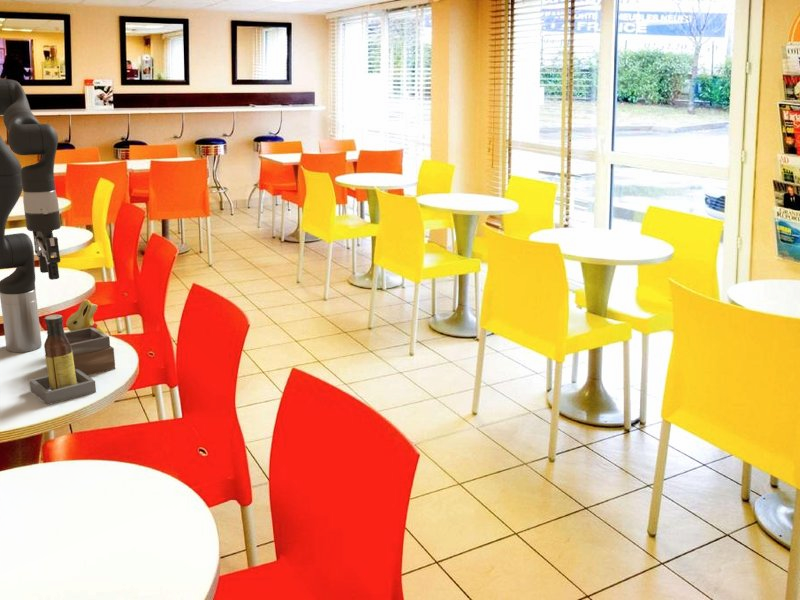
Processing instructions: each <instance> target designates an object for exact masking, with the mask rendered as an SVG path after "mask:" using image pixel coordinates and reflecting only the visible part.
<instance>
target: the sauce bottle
mask: <svg viewBox="0 0 800 600" xmlns="http://www.w3.org/2000/svg"><path fill="white" fill-rule="evenodd" d="M44 323H45V325H46V335H47V338H46V339H45V342H44V344H43V346H44V355H45V356H44V357H45V363H46V370H47V376H48V377H49V384H50V388H49V389H51V390H55V389H59V388H63V387H67V386H71V385H75V384H78V382H77V381H76V374H75V367H74V360H73V353H72V347H71V345H70V343H69V341H68V339H67V337H66V335H65V330H64V329H65V328H64V324H63V323H64V318H63V315H61V314H50V315H47V316H45V317H44ZM51 390H50V391H51Z"/></svg>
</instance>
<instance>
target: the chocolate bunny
mask: <svg viewBox="0 0 800 600" xmlns="http://www.w3.org/2000/svg"><path fill="white" fill-rule="evenodd" d="M97 311H98V305H97V304H95V303H92V302H91V301H90V300H89V299H87V298H86V299H83V301H81V303H80V304H79V307H78V309H77V310H76V311H75V312H74V313H72V314H71V315H70V316H68V318H67V319H66V322H65V324H66V327H67V329H68V330H69V331H74V330H79V329H84V328H89V327H93V328H95V329H97V330H98V331H100V332H102V333H103V334H105V335H107V334H106V332H105V330H104V329H102V328H101V327H100V326H99V325H98V324H97V323H96V322H95V321H94V315H95V313H96V312H97Z"/></svg>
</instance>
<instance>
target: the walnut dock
mask: <svg viewBox="0 0 800 600" xmlns="http://www.w3.org/2000/svg"><path fill="white" fill-rule="evenodd" d="M64 333H65V335H66V337H67V339H68V341H69V343H70V345H71V347H72V353H73V360H74V367H75V369H79V370H80V371H81V372H83V373H84V374H86V375H87V376H90V375H95V373H96V374H99V372H100V373H103V372H102V371H104V372H107V370H108V371H112V370H115V369H116V362H115V361H116V360H115V348H114V347H113V346H112V345H111V342H110V339H111V338H110V336H109V335H107V334H106V333H105V334H106V335H105V334H103V333H102V332H100V331H98V330H97V329H95V328H93V327H89V328H84V329H79V330H74V331H70V330H69V331H66V332H65V331H64ZM111 369H112V370H111Z"/></svg>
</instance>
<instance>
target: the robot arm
mask: <svg viewBox="0 0 800 600" xmlns="http://www.w3.org/2000/svg"><path fill="white" fill-rule="evenodd" d="M0 116H3V117H2V119H3V125H4V126H5V128H6V130H7V131H8V133H7V142H8V144H7V143H6V142H5V140H3V137H2V136H1V135H0V270H4V269H5V270H6V269H13V268H15V269H14V271H13V272H12V273H10V274H9V275H7V276H5V277H4V278H3V279H1V280H0V305H1V306H0V307H1V314H2V322H3V323H2V324H3V329H4V338H5V339H4V340H5V346H6V347H5V348H6V350H7V351H9V352H12V353H24V352H30V351H34V350H37V349H39V348H41V346H42V344H43V343H42V336H41V327H40V318H39V316H40V315H39V309H38V301H37V300H38V299H37V293H36V268H35V254H36V256H37V258H38V262H39V271H40V273H42V274H44V273H47V275H48V279H49V280H51V281H52V280H59V278H60V273H59V272H60V271H59V263H61V256H60V255H61V254H60V248H59V242H58V241H59V238H58V237H57V236H54V233H53V231H55V230H59V229H61V226H62V225H61V217H60V216H61V215H60V208H59V199H58V195H57V192H56V182H55V173H54V171H55V170H54V169H55V160H56V154H57V150H58V143H59V137H58V133H57V131H56V129H55V128H54V127H53V126H52V125H50V124H48V123H40V122H39V120H38V119H37V118H36V116H35V115H34V113H33V112H32V110H31V107H30V103H29V100H28V98H27V95H26V92H25V89H24V88H23V86H22V85H21V84H20V82H18V81H17V80H14V79H6V78H5V79H2V78H0ZM15 154H16V155H19V156H39V155H41V158H40V159H39V161H38V162H36V163H33V164H30V165H25V166H23V167H22V164H21V162H20V160H19V159H18V158H17V156H16V155H15ZM21 194H22V195H21ZM21 196H23V197H22V199H23V201H22V202H23V211H24V219H25V226H26V229H27V231H30V232H32V236H33V242H32V240H31V237H30V236H29V235H28V234H27V233H24V232H18V233H11V234H5V233H6V232H5V231H6V225H7V221H8V218H9V217H10V215H11V213H12V211H13V210H14V208H15V206H16V204H17V203H18V201H19V199H20V197H21ZM33 243H34V246H33ZM52 256H53V257H52Z"/></svg>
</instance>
